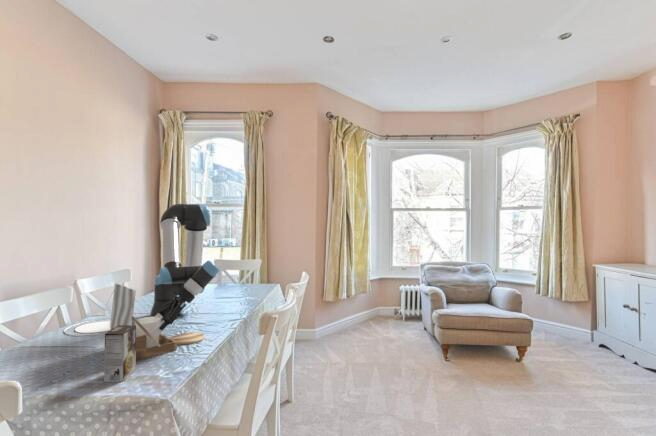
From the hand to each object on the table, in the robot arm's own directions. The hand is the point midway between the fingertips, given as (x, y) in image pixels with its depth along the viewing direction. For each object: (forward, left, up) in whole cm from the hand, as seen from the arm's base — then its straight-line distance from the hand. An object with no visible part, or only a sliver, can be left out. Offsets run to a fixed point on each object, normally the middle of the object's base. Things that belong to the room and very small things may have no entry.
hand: (150, 331), depth 144 cm
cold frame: (-1, -2, -7) cm, 8 cm away
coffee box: (+19, -17, -7) cm, 27 cm away
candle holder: (-1, -1, -7) cm, 8 cm away
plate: (-48, -5, -8) cm, 49 cm away
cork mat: (0, +16, -7) cm, 17 cm away
